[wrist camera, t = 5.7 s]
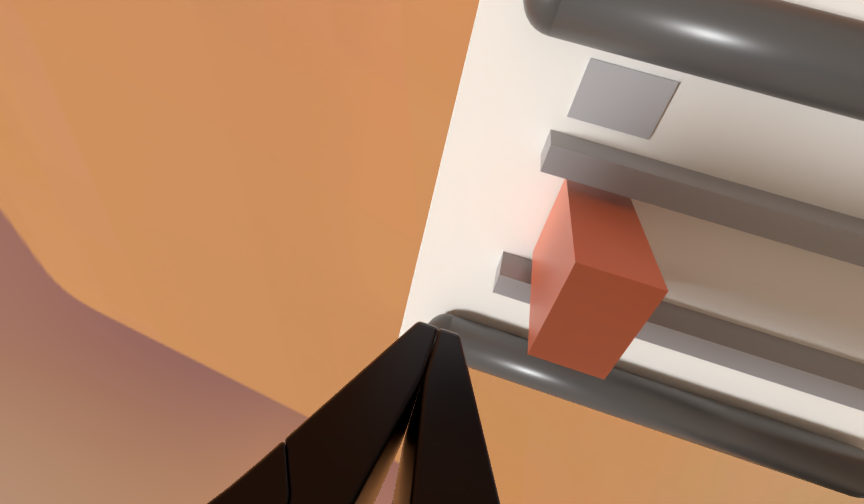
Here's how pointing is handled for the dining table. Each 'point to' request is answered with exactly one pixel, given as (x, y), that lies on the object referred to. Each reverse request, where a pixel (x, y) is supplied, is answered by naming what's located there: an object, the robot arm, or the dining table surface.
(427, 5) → the dining table surface
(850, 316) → the panel
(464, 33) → the dining table surface
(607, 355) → the knob
